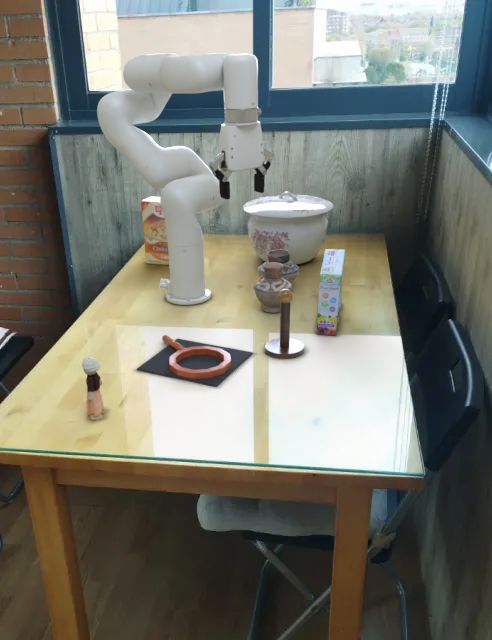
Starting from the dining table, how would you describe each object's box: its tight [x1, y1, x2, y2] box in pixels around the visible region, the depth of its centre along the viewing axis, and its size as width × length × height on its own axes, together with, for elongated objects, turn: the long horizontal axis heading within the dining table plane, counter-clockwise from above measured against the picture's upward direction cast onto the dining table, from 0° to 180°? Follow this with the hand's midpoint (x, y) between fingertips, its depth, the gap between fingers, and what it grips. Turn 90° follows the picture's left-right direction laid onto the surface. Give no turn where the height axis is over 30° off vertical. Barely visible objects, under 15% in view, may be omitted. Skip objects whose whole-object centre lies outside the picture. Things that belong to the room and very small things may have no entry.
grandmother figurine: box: [81, 355, 106, 421], centre depth 134 cm, size 8×4×13 cm, turn 5°
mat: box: [136, 338, 253, 388], centre depth 156 cm, size 20×18×1 cm
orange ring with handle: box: [161, 334, 231, 379], centre depth 157 cm, size 24×14×2 cm, turn 32°
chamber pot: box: [242, 191, 335, 266], centre depth 213 cm, size 28×28×21 cm
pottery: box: [253, 250, 300, 314], centre depth 185 cm, size 11×25×12 cm, turn 170°
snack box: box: [315, 248, 346, 336], centre depth 171 cm, size 21×6×15 cm, turn 168°
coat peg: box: [264, 289, 305, 360], centre depth 156 cm, size 9×9×15 cm
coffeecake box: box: [140, 195, 169, 266], centre depth 215 cm, size 15×7×20 cm, turn 67°
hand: (242, 195), depth 164 cm, fingers open, 9 cm apart
